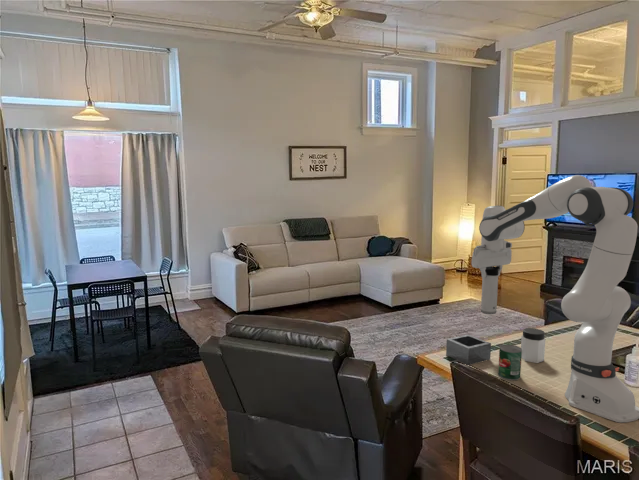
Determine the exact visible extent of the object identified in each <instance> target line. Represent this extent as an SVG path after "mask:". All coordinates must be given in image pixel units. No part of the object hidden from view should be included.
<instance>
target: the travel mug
mask: <svg viewBox="0 0 639 480" xmlns="http://www.w3.org/2000/svg"><path fill="white" fill-rule="evenodd" d="M498 269H500V268H499V267H498V266H497V267H496V266H492V267H486V270H485V272H486V273H487V277H486V278H483V277H481V279H482V280H481V281H482V282H481V283H482V284H481V300H480V301H481V302H480V303H481V304H480V312H481V313H482V314H484V315H496V314H497V305H498V290H499V289H498V288H499V276H498Z"/></svg>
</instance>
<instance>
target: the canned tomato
mask: <svg viewBox="0 0 639 480" xmlns="http://www.w3.org/2000/svg"><path fill="white" fill-rule="evenodd" d="M498 351H499V353H498V354H499V355H498V370H497V371H498V372H497V375H498V377H499V378H502V379H503V380H508V381H517V380H520V379H521V372H522V371H521V369H522V358H521V355H522V349H521V346H520V347H519V346H517V345H514V344H501V345H500V346H499V350H498Z"/></svg>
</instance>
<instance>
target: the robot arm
mask: <svg viewBox="0 0 639 480" xmlns="http://www.w3.org/2000/svg"><path fill="white" fill-rule="evenodd" d="M633 207H634V199H633V196H632V195H631V194H630V193H629V192H628V191H626V190H625V189H622V188H619V187H607V186H606V187H605V186H593V185H592V183H591V181H590V180H589V179H588V178H587V177H585V176H583V175H581V174H575V175H570V176H568V177H566V178H564V179H561V180H559V181H557V182H555V183H553V184H551V185H550V186H548V187H546V188H545V189H543V190H541V191H540V192H538V193H537V194H534V195H533V196H531V197H529V198H527V199H526V200H524V201H522V202H519V203H517V204H516V205H515V204H514V206H511V207H509V208H507V209H506V207H505V206H503V205H490V206H486V207H485V208H484V209H483V213H482V219H481V221H480V223H479V227H478V230H479V234H480V235H481V239H480V240H481V241H480V242H481V243H480V245H476V246H475V248H474V249H473V252H472V257H471V262H470V263H471V266H472V268H475V269H479V271H480V273H481V278H486V277H487V273H486V272H485V270H486V267H497V266H498V267H499V268H500V269H498V277H499V276H500V275H501V271H502V270H503V266H505V265H510V264H511V262H512V252H513V251H512V247H513V243H512V242H510V241H507V240H512V239H517V238H520V237H522V235H523V234H524V232H525V221H531V220H533V221H534V220H547V219H553V218H557V217H560V216H564V215H566V214H567V213H569V215H570V216H571V217H573V218H574V219H576V220H578V221H580V222H582V223H583V224H584V225H586V226H587V227H591V226H594V227H595V230H596V233H595V237H594V241H593V243H592V248H591V251H590V254H589V257H588V259H587V263H586V266H585V268H584V270H583V272H582V274H581V275H580V276H579V279H578V280H577V282H576V283H575V284H574V286H573V287H572V289H571V290H570V291H569V292H568V293H566V294H565V295H564V296H563V298H562V300H561V303H560V307H561V311H562V313H563V315H564V316H565V317H566V318H567V319H568V320H570V321H571V322H575V323H581V326H580V327H579V328H578V329H577V331H576V332H575V334H574V339H573V353H572V356H571V359H570V360H571V361H570V370H571V371H570V378H569V381H568V384H567V387H566V390H565V392H564V396H565V398H566V399H567V401H568V405H569V406H571V407H573V408H577V409H580V410H582V411H586V412H588V413H589V414H590V413H591V414H593V415H596V416H599V417H601V418H604V419H607V420H610V421H612V422H615V423H631V422H635V421H637V420H638V419H639V406H637V405H636V399H635V394H634V392H633V391H632V390H630V388H629V387H628V386H627V385H626V384H625V383H624V382H623V381H622V380H621V379H620V378H619V377H618V376H617V374H616V372H619V371H620V370H619V369H620V367H615V366H614V365H613V362H612V354H613V349H614V348H613V347H614V340H615V337H616V333H617V331H618V327H619V325H620V323H621V321H622V319H623V317H624V315H625V314H626V313H627V311H628V310H629V309H630V308H631V304H632V301H631V296H630V294H629V293H628V291H627V290H625V289H624V288H622V286H618V285H619V283H621V282H622V281H623V280H624V278H625V277H626V276H627V274H628V273H627V272H628V270H629V267H630V264H631V261H632V258H633V254H634V251H635V246H636V242H637V236H638V223H637V221H636V220H635V219H634V218H633V217H631V216H630V215H629V214H630V213H631V211H632V209H634V208H633Z"/></svg>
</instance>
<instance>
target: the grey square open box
mask: <svg viewBox="0 0 639 480" xmlns="http://www.w3.org/2000/svg"><path fill="white" fill-rule="evenodd" d="M445 346H446V349H445V350H446V351H445V355H446V356H448V357H450V358H452V359H453V360H456V361H458V362H460V363H462V364H465V365H466V364H467V366H470V365H471V366H472V365H474V364H475V365H476V364H478V363H483V362H486V360H487V361H491V354H492V343H491V342H489V341H486V340H483V339H481V338H478V337H476V336H473V335H471V334H464V335H459V336H456V337H450V338H446V345H445ZM482 361H483V362H482Z"/></svg>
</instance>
